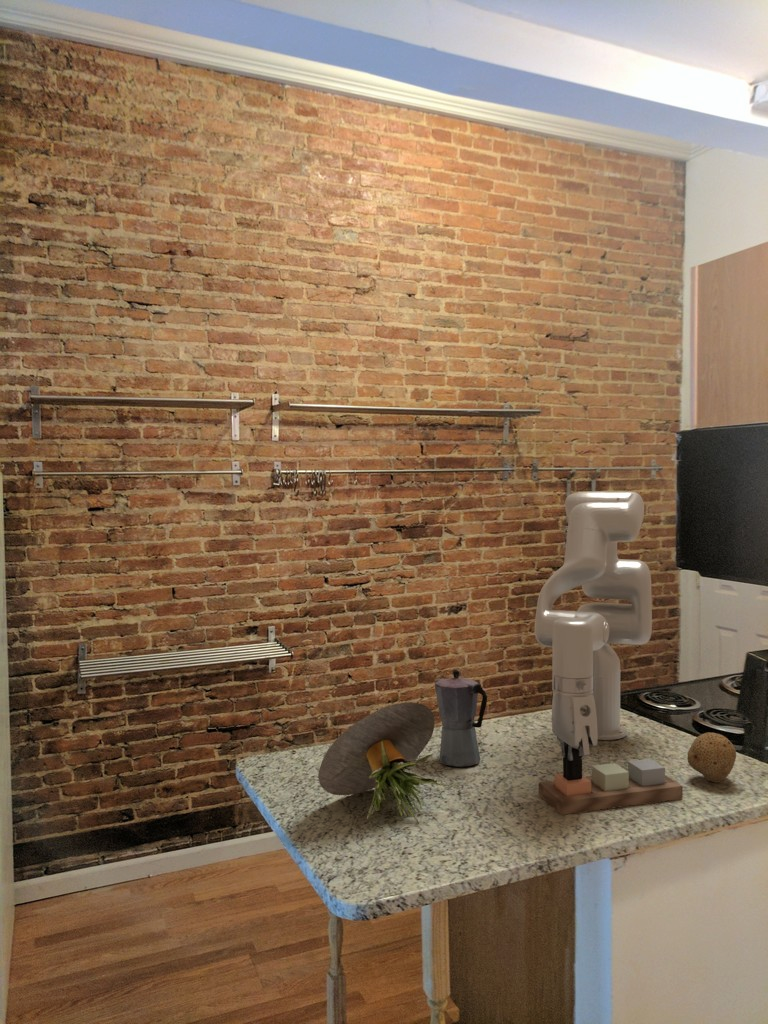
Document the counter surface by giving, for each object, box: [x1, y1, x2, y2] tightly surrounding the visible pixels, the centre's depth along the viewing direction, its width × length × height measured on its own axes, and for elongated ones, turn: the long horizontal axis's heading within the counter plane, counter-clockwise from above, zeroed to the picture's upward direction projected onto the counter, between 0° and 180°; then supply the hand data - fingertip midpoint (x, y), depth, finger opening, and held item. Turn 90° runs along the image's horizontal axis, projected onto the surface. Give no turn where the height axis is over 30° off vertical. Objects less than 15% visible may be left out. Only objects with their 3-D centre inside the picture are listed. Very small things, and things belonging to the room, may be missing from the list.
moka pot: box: [434, 669, 488, 767], centre depth 172 cm, size 10×15×20 cm, turn 44°
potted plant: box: [318, 702, 450, 824], centre depth 146 cm, size 25×18×25 cm
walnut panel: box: [538, 775, 684, 816], centre depth 153 cm, size 26×10×2 cm, turn 105°
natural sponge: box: [686, 731, 737, 784], centre depth 160 cm, size 9×9×10 cm
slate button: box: [627, 758, 666, 786], centre depth 155 cm, size 5×5×4 cm
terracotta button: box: [554, 773, 591, 796], centre depth 151 cm, size 5×5×4 cm
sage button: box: [591, 762, 629, 791], centre depth 153 cm, size 5×5×4 cm
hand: (572, 778), depth 151 cm, fingers closed
